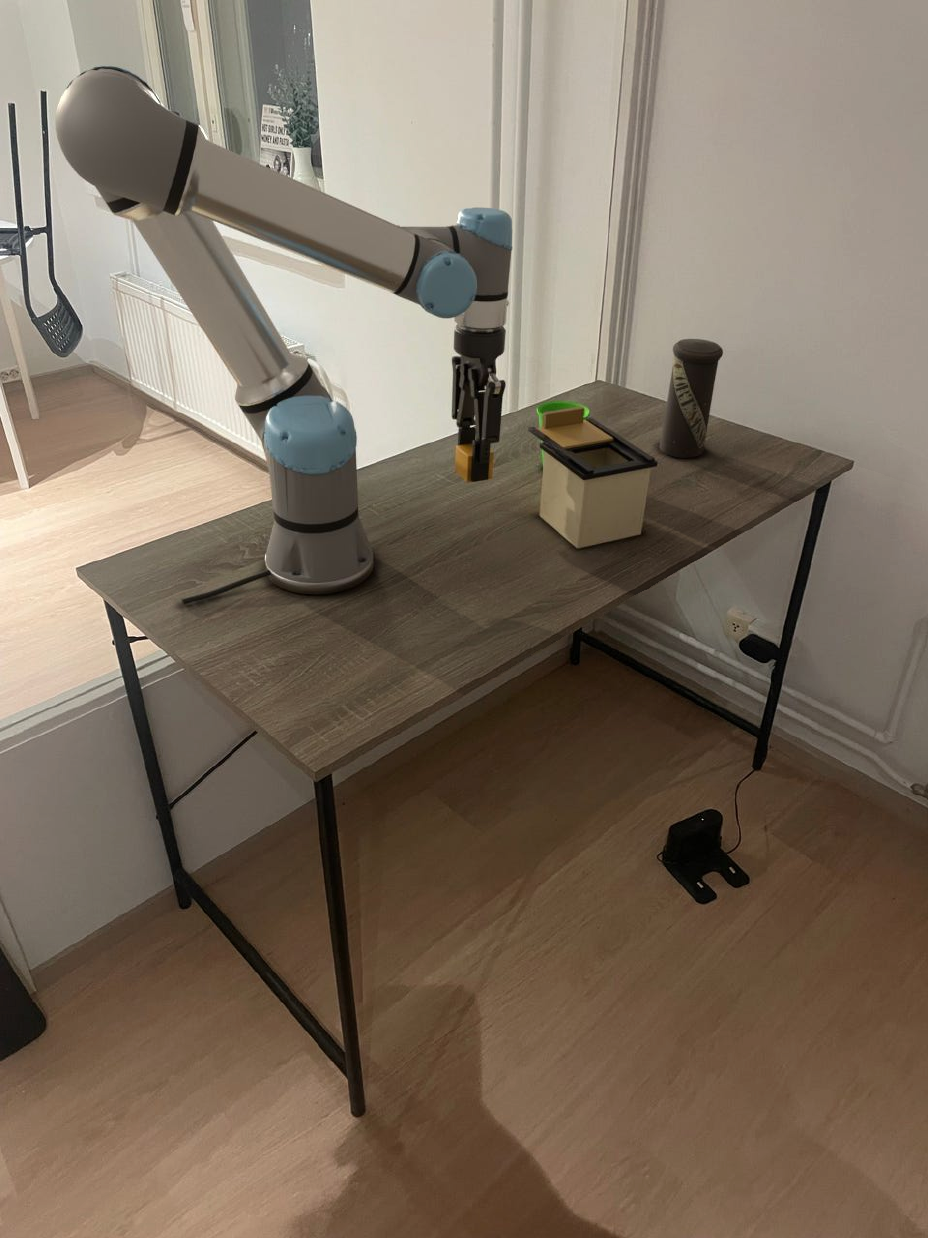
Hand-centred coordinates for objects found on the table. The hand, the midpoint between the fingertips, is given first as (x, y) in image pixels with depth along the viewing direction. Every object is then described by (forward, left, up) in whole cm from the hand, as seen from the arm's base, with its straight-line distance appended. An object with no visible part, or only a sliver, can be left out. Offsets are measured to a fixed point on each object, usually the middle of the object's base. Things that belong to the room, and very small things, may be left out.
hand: (472, 473), depth 145 cm
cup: (+20, +7, -6) cm, 22 cm away
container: (+46, +6, -6) cm, 47 cm away
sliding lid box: (+14, -11, -6) cm, 19 cm away
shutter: (+14, -6, +7) cm, 17 cm away
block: (0, 0, 0) cm, 0 cm away
